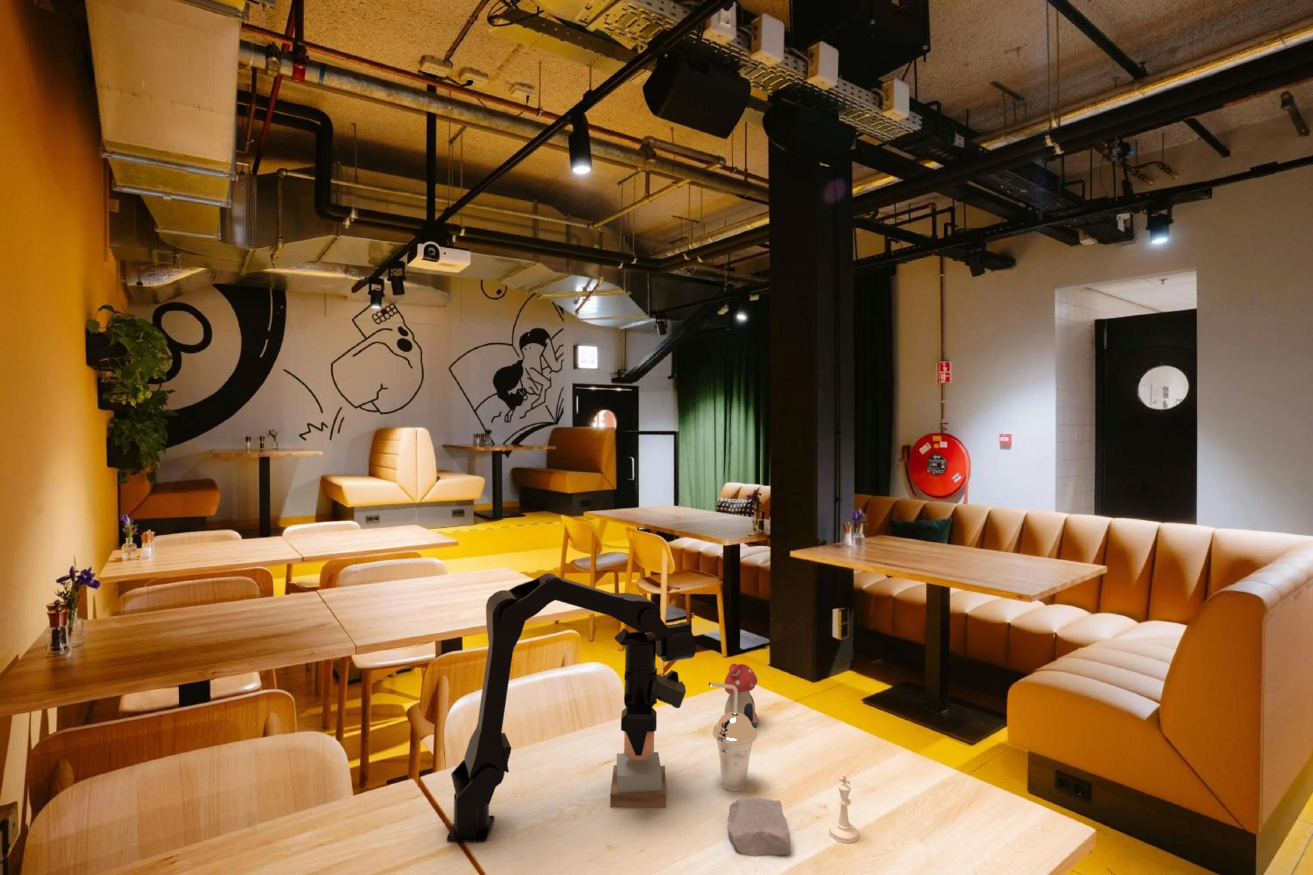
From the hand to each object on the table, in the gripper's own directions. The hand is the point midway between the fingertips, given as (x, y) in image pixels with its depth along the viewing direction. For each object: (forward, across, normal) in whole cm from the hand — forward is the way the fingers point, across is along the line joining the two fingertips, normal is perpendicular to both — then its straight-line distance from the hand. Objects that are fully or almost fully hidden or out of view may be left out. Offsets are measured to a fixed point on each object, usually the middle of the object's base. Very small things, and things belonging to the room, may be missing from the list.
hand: (639, 747), depth 123 cm
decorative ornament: (+9, +28, -23) cm, 37 cm away
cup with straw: (+9, +3, -18) cm, 20 cm away
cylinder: (+1, 0, 0) cm, 1 cm away
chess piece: (+9, -12, -35) cm, 38 cm away
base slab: (+9, 0, 0) cm, 9 cm away
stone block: (+9, -12, -20) cm, 25 cm away
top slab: (+6, 0, 0) cm, 6 cm away
